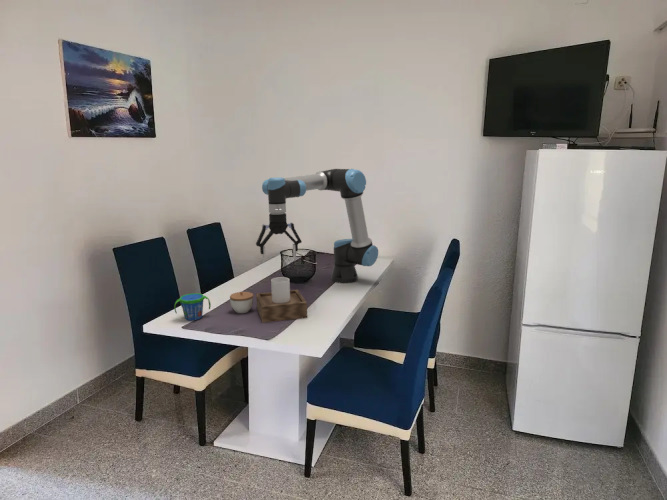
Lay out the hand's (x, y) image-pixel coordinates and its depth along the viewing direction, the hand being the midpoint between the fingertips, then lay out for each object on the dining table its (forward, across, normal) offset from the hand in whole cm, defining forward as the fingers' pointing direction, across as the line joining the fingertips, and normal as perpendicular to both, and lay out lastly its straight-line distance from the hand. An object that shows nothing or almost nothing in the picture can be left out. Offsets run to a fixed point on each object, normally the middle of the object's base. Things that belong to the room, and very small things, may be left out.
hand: (279, 259), depth 217 cm
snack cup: (+25, -39, +5) cm, 47 cm away
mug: (+19, +1, 0) cm, 19 cm away
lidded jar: (+25, -17, +8) cm, 32 cm away
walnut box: (+25, 0, 0) cm, 25 cm away
